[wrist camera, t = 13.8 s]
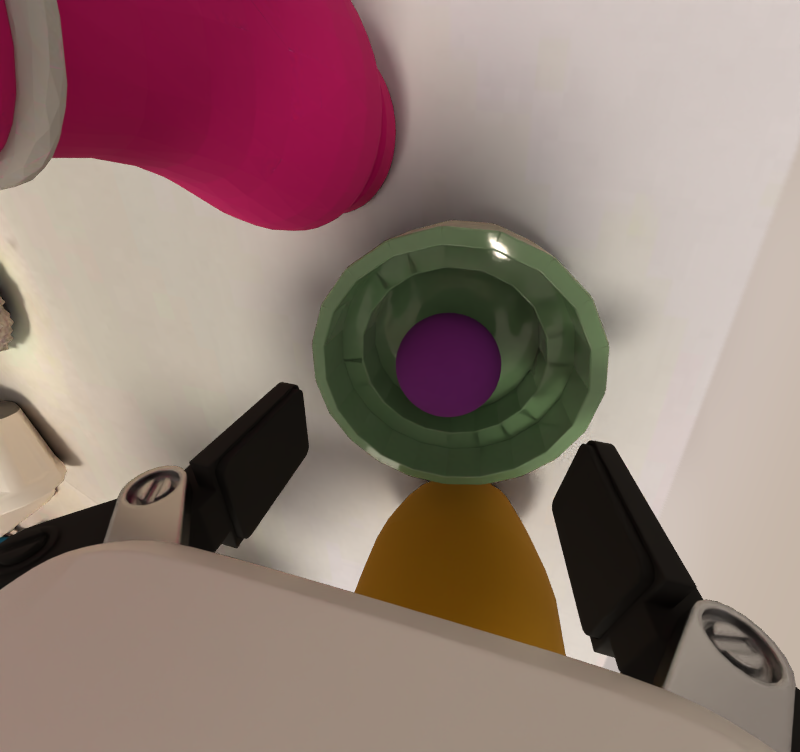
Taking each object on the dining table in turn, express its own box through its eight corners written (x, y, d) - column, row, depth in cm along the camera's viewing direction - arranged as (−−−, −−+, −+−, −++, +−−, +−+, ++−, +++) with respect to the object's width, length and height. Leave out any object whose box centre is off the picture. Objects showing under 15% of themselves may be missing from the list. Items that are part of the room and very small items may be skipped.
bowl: (353, 406, 21) (321, 456, 17) (349, 209, 15) (298, 212, 11) (532, 441, 19) (547, 508, 15) (614, 233, 13) (680, 247, 9)
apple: (466, 414, 19) (450, 684, 8) (568, 511, 21) (661, 828, 11) (365, 480, 25) (277, 695, 14) (454, 552, 27) (438, 788, 16)
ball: (404, 375, 18) (381, 426, 14) (411, 294, 16) (385, 326, 11) (487, 390, 17) (489, 449, 13) (508, 307, 15) (520, 347, 11)
